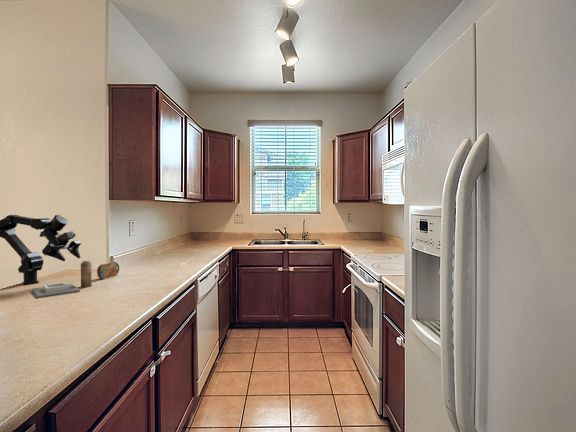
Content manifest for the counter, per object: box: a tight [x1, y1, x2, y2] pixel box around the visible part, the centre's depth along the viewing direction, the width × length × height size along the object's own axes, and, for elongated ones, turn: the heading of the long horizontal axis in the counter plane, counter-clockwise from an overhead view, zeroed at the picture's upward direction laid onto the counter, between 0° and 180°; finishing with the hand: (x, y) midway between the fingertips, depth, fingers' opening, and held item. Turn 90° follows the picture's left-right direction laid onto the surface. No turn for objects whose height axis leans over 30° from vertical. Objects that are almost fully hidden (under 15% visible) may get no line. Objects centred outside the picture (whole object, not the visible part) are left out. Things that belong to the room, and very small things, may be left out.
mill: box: [80, 260, 93, 289], centre depth 166 cm, size 5×5×13 cm
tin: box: [96, 261, 120, 280], centre depth 188 cm, size 15×3×8 cm, turn 168°
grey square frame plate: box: [31, 281, 81, 299], centre depth 155 cm, size 16×16×3 cm
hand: (72, 259), depth 167 cm, fingers open, 9 cm apart
